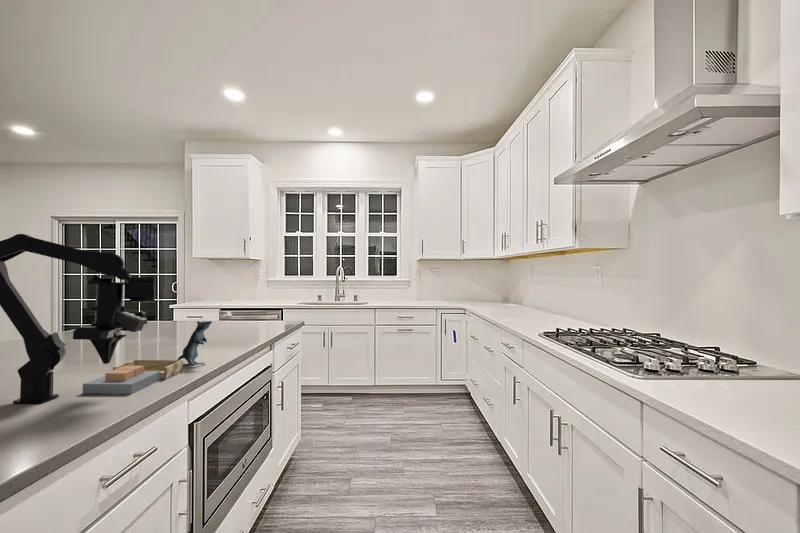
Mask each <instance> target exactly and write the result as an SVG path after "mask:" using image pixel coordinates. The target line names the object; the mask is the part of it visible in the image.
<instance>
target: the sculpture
mask: <svg viewBox="0 0 800 533" xmlns="http://www.w3.org/2000/svg"><path fill="white" fill-rule="evenodd" d="M196 324H197V325H196V328H195V330H194V331H193V332H192V333H191V335H190V337H189V340H188V343H187V344H186V346H185V347H184V348H183V350H182V354H181V355H179V357H178V358H176V360H183V359H185V360H186V361H187V363H183V366H184V367H189V366H196V365H205V364H206V363H205V362H198V361H195V360H196V359H197V358H198V356H199V350H198V346H200V345H205V343H208V339H207V338H206V336H205V334H204V332H205V330H208V329H209V327H210V326H211V325H212V324H213V322H212V321H211V320H210V321H209V320H208V321H205V320H203V321H202V322H201V321H199V320H197V322H196Z"/></svg>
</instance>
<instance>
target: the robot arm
mask: <svg viewBox="0 0 800 533" xmlns="http://www.w3.org/2000/svg"><path fill="white" fill-rule="evenodd" d="M25 252H28V253H31V254H37V255H39V256H43V257H44V256H45V257H47V258H51V259H52V258H53V259H57V260H61V261H63V262H64V261H65V262H69V263H73V264H78V265H81V266H82V267H85V268H88V269H89V270H91V271H94V272H96V273H99V274H101V275H104V276H109V277H100V276H99V275H97V274H95V275H94V276H93V277H92V278H91V279H90V280H87V285H96V292H95V293H96V294H95V306H93V305H92V306H91V311H92V312H93V311H94V313H95V316H94V322H91V323H90V325H85V326H83V325H82V326H79V327H76V328H75V329H73V331H72V339H73V340H88V341H90V342H91V344H92V345H93V347H94V348H95V350H96V352H97V354H98V356H99V357H100V359H101V361H102V364H104V365H108V364H110V363H111V360H112V357H113V355H114V352H115V350H116V348H117V345H118V343H119V342H120V341H121V340H122V339H123V338H125V337H126V336H127V334H122V332H131V333H137V332H142V330H143V328H144V325H147V324H148V318H147V312H144V311H136V313H133V312H132V313H131V312H128V311H127V310H128V309H127V306H126V305H123V295H125V296H124V298H125V299H128V300H129V302H130V303H155V300H156V299H155V296H156V288H155V276H146V277H145V276H144V277H143V276H142V277H141V276H132V275H131V273H130V272H128V270H127V269H126V267H125V266H126V265H125V261H124V258H123V257H122V256H120V255H119V254H116V253H112V252H105V251H96V250H95V251H92V250H84V249H81V248H80V249H79V248H75V247H70V246H67V245H64V244H60V243H55V242H52V241H49V240H44V239H39V238H37V237H33V236H32V235H29V234H24V233H18V234H14V235H13V236H11V237H8V238H6V239H3V240H0V307H1V309H2V310H3V311H4V313H5V314H6V315H7V317H8V319H9V320H10V321H11V323H12V324H13V326H14V327H15V329H16V330H17V332H18V333H19V335H20V336H21V337H22V340H23V343H24V348H25V351H26V354H27V357H28V359H29V360H28V361H27V362H25V364H23V365H22V366H20V367H19V368H18V369H17V373H18V375H19V378H20V387H19V388H20V390H19V391H20V392H19V398H17V399H15V400H13V401H12V404H42V403H45V402H47V401H50V400H53V399H55V398H57V397H59V396H60V395H59V393H58V394H57V393H54V371H53V370H54V369H55V367H56V366H57V365H58V364H60V363H61V362H62V361H63V360H64V359H65V356H66V349H65V347H66V346H67V344H66V343H65V342H63V340H61V338H60V335H59V333H58V332H57V331H55V332H53V333H51V334H50V333H49V332H48V331H47V330H45V329H44V328H43V327H42V325H41V324H40V322H39V321H38V319H37V318H36V316H35V315H34V313H33V312H32V310H31V309H30V308H29V306H28V305H27V303H26V301H25V300H24V298H23V297H22V295H21V294H20V293H19V291H18V289H16V287H15V286H14V284H13V282H12V281H11V279H10V277H9V272H8V266H7V264H6V263H5V262H6V261H9V260H12V259H14V258H16V257H17V256H20V255H21V254H23V253H25ZM110 276H111V277H110ZM112 276H113V277H116V278H117V279H118V280H121V281H122V282H119V281H118V282H116V281H114V278H113V277H112ZM123 281H128V282H123ZM124 286H125V292H124V291H123V290H124ZM123 293H124V294H123ZM53 393H54V394H53Z"/></svg>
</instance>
